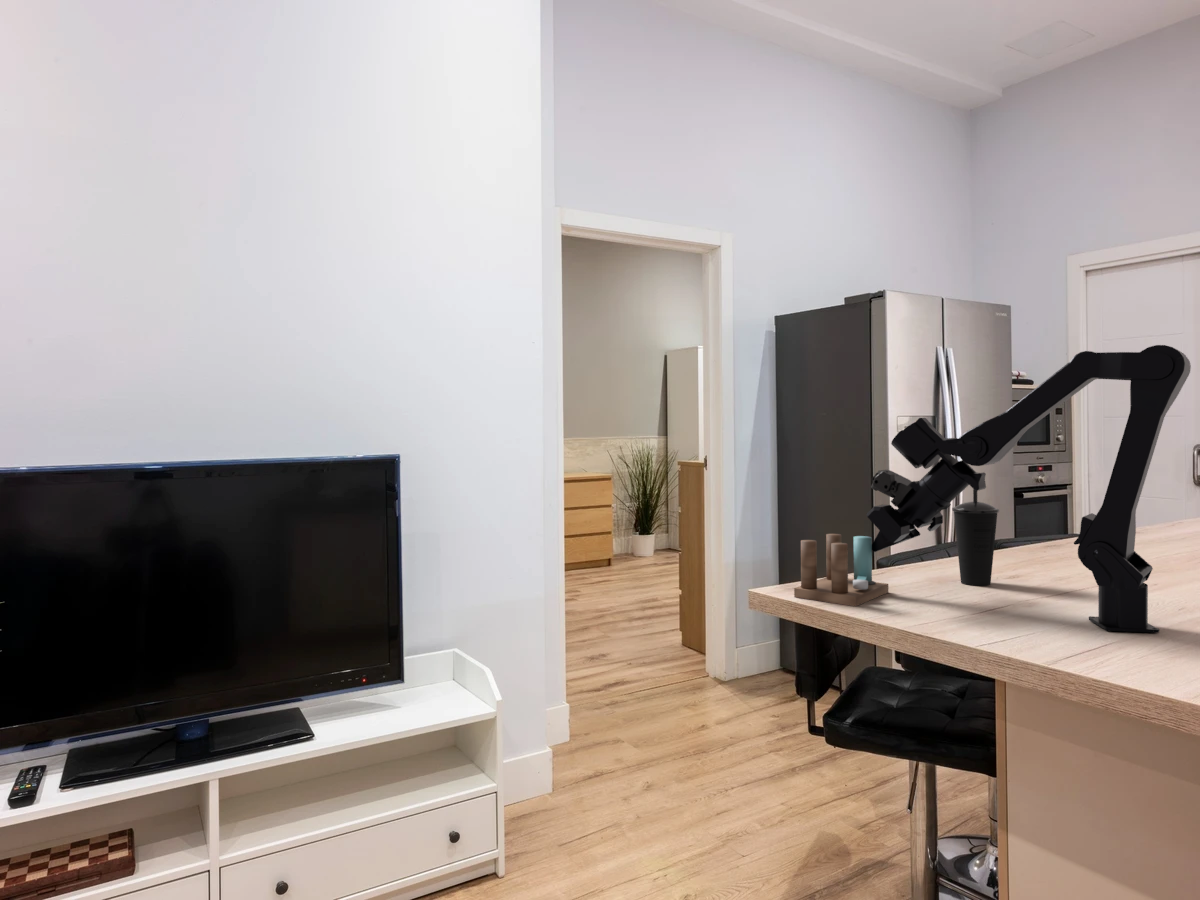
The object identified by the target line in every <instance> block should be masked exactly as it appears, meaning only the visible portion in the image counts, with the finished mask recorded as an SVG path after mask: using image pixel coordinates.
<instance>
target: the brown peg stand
mask: <svg viewBox="0 0 1200 900" xmlns="http://www.w3.org/2000/svg"><path fill="white" fill-rule="evenodd" d="M825 536H826V538H825V541H826V542H825V545H826V547H825V548H826V553H825V554H826V557H825V558H826V565H825V566H826V568H825V569H826V570H825V571H826V577H824V578H820V579H818V566H817V565H818V559H817V558H818V557H817V555H818V552H817V550H818V549H817V548H818V546H817V540H815V539H801V540H800V585H799V586H796V587H794V588H793V590H794V591H793V595H794V596H793V597H794V598H799V599H806V600H812V601H819V602H823V603H825V602H826V603H832V604H837V605H838V604H839V605H846V606H851V607H857V606H859V605H862V604H865V603H867V602H869V601H871V600H874V599H877V598H878V597H880V596H883V595H885V594H887V593H889V583H885V582H877V581H874V580H872V581H870V582H868V589H865V590H859V589H854V588H853V580H854V578H849V564H848V563H849V557H848V556H849V555H848V553H849V552H848V551H849V547H848V546H849V544H848V543H846V542H842V534H840V533H826V534H825Z"/></svg>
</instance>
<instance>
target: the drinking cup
mask: <svg viewBox="0 0 1200 900" xmlns="http://www.w3.org/2000/svg"><path fill="white" fill-rule="evenodd" d="M972 491H973V493H972V494H973V496H972V497H973V498H972V500H973V501H967V502H963V503H961V504H958V505H956V506H954V507H952V508H951V510H952V512H953V518H954V525H955V535H956V536H955V537H956V545H957V546H956V548H957V555H958V565H959V567H958V568H959V575H960V576H959V577H960V583H961V584H964V585H967V586H975V587H976V586H977V587H987V586H991V582H992V575H993V574H992V572H993V564H994V563H993V560H994V553H995V542H996V541H995V540H996V531H997V522H998V513H999V512H1000V508H996V507H995V506H993V505H991V504H990V503H986V502H981V501H978V491H975V490H974V489H973V488H972Z"/></svg>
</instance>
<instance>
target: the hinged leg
mask: <svg viewBox="0 0 1200 900" xmlns="http://www.w3.org/2000/svg"><path fill="white" fill-rule="evenodd" d="M872 543H873V538H872V537H871V536H867V535H865V536H864V535H856V536H853V579H854V580H853V588H854V589H859V590H865V589H868V582H870V581H873V550H872Z"/></svg>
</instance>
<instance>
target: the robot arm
mask: <svg viewBox="0 0 1200 900" xmlns="http://www.w3.org/2000/svg"><path fill="white" fill-rule="evenodd" d="M1191 369H1192V367H1191V362H1190V359H1189V358H1188V356H1187V355H1186V354H1185V353H1184V352H1182V351H1180V350H1178V349H1177V348H1175V347H1173V346H1170V345H1167V344H1166V345H1165V344H1156V345H1152V346H1151V345H1150V346H1148V347H1146V348H1145V349H1142V350H1141V351H1139V352H1137V351H1134V352H1133V351H1131V352H1129V351H1126V352H1125V351H1118V352H1112V351H1107V352H1096V351H1091V350H1089V351H1088V350H1085V351H1080V352H1079V353H1076V354H1075V355H1074V356H1073V357H1071V359H1070V360H1069V362H1067V363H1066V364H1064V366H1063V367H1061V368H1060V369H1058V370H1057V371H1056V372H1055V373H1053V374H1052V375H1051V376H1049V377H1048V378H1047V379H1045V380H1044V381H1043V382H1041V384H1039V385H1038V386H1037V387H1035V388H1034V389H1033V390H1031V391H1030V392H1029V393H1027V394H1026V395H1025V396H1024V397H1022V398H1020V400H1018V402H1016V403H1015V404H1013V405H1012V406H1011V407H1009V408H1008V409H1007V410H1005V411H1003V412H1002V413H1000V414H998V415H996V416H994V417H992V418H990V419H987V420H986V421H985V420H984V421H983V422H981V423H979V424H978V425H976V426H973V428H971V429H969V430H966V431H965V432H963V433H962V434H961V435H960V436H959V438H957V437H948V438H945V436H944V435H943V434H941V432H939V431H938V430H937V429H936V428H935V426H933V424H932V423H931V422H930V420H928V418H926V417H919V418H918V419H917V420H916V421H914V422H913V423H911V424H909V425H908V426H906V427H905V428H904V429H901V430H900V431H898V433H897V434H896V435H895V436H894V437H893V439H892V441H891V443H890V444H891V446H892V447H894V449H895V450H896V451H898V453H899V454H900V455H901V456H903V458H904V459H906V461H908V463H910V464H911V466H912V467H914V469H919V468H921V467H922V468H923V469H924V470H927V469H929V468H931V467H932V468H931V469H930V470H929V471H928V472H927V473H926V474H924V475H923V477H921V478H920V479H919V480H916V481H915V480H913V481H912V480H910V479H909V478H906V477H905V476H903V475H900V474H898V473H897V472H894V471H893V470H890V469H882V470H878V471H877V472H875V474H874V476H872V477H870V481H871V482H872V484H871V485H870V489H872V490H874V491H876V492H879V493H882V494H883V495H886V496H888V497H890V498H892V499H891V500H890V502H891V504H879V505H875V506H873V507H872V508H871V509H870V510H869V511H868V512H867V513H866V517H867V518H868V520H870V522H871V523H873V525H874V526H875V527H876V528H877V529H878V533H877V534H876V536H875V538H874V540H873V541H872V552H873V553H876V552H879V551H882V550H884V549H886V548H890V547H893V546H896V545H897V544H901V543H903V542H906V541H908V540H911V539H914V538H917V537H919V536H920V535H921V533H920V531H919V530H918V529H920V528H922V527H923V528H924V527H927V526H928V527H927V530H928V532H932V531H936V530H937V529H938V528H939V527H940V526H941V525H943V523H944V519H943V517H944V515H943V514H942V513H940V512H941V511H943V510H944V511H945V510H947V509H948V508H949V507H950V506H952V504H951V502H952V501H953V500H955V499H956V498H957V497H958V496H959V495H960V494H961V493H962V492H963V491H964V490H965V489H967V488H968V487H969V486H970V488H972V490H973V489H974V490H975V491H977V492H978V491H981V490H985V489H986V488H987V486H986V473H985V471H984V472H977V471H976V470H975V469H974V468H972V467H971V466H974V467H982V466H987V465H988V466H989V465H993V464H996V463H999V462H1000V461H1001V460H1003V458H1004V457H1005V456H1007V454H1008V453H1009V452H1010V451H1011V450H1012V449H1013V448H1014V447H1015V446H1016V445H1017V443H1018V442H1019V440H1021V438H1022V436H1024V434H1025V433H1026V432H1027V431H1028V430H1029V429H1030V428H1032V427H1033V426H1034V425H1036V424H1037V423H1039V421H1041V420H1042V419H1044V418H1045V417H1046V416H1048V415H1049V414H1051V412H1053V411H1054V410H1056V409H1057V408H1058V407H1059V406H1061V405H1063V404H1064V403H1065V402H1066V401H1068V400H1069V399H1071V398H1072V397H1073V396H1074V395H1076V394H1077V393H1079V392H1080V391H1081V390H1083V389H1084V388H1085V387H1087V386H1088V385H1089V384H1091V383H1092V382H1094V381H1095V380H1115V381H1117V380H1118V381H1130V383H1129V385H1130V386H1129V388H1130V389H1129V393H1130V395H1129V397H1130V398H1129V399H1130V404H1129V405H1130V409H1129V414H1128V418H1127V421H1126V424H1125V427H1124V431H1123V434H1122V438H1121V441H1120V444H1119V448H1118V452H1117V453H1116V458H1115V460H1114V465H1113V468H1112V471H1111V474H1110V478H1109V482H1108V485H1107V487H1106V492H1105V495H1104V499H1103V501H1102V505H1101V507H1100V509H1098V511H1097V513H1096V514H1095V513H1089V514H1086V515H1084V516H1082V517H1081V521H1080V531H1079V534H1078V536H1077V538H1076V540H1075V541H1074V542H1073V544H1074V545H1078V547H1077V557H1078V559H1079V561H1080V563H1081V564H1082V565H1083V566H1084V567H1085V568H1086V569H1088V570H1089V571H1091V573H1092V575H1093V577H1094V580H1095V582H1096V585H1097V586H1098V590H1097V591H1098V594H1097V595H1098V609H1097V610H1098V616H1092V615H1091V616H1088V621H1090V622H1091V623H1093V624H1095V625H1097V626H1098V627H1100V628H1102V629H1103V630H1105V631H1108V632H1131V633H1132V632H1134V633H1155V634H1157V633H1159V632H1160V629H1159V628H1157V627H1156V626H1154V625H1153V624H1151V623H1148V619H1149V618H1148V617H1149V616H1148V615H1149V612H1148V611H1149V609H1148V606H1149V604H1148V603H1149V602H1148V601H1149V594H1148V593H1149V592H1148V590H1149V588H1148V587H1149V584H1147V583H1145V582H1146V581H1148V580H1149V578H1150V576H1151V574H1152V571H1153V566H1152V565H1151V564H1150V563H1148V562H1147V561H1146V559H1144V558H1143V557H1142V556H1140V554H1138V552H1137V551H1135V543H1136V533H1137V530H1136V529H1137V527H1136V525H1137V524H1136V523H1137V521H1136V518H1137V517H1136V513H1137V508H1138V504H1139V501H1140V497H1141V495H1142V491H1143V489H1144V485H1145V481H1146V479H1147V476H1148V471H1149V469H1150V466H1151V462H1152V460H1153V455H1154V452H1155V450H1156V446H1157V442H1158V439H1159V436H1160V434H1161V433H1160V432H1161V429H1162V426H1163V424H1164V420H1165V417H1166V415H1167V413H1168V412H1169V410H1170V408H1171V407H1172V405H1173V403H1174V402H1175V401H1176V399H1177V398H1178V396H1179V394H1180V392H1181V390H1182V388H1183V387H1184V385H1185V383H1186V381H1187V379H1188V377H1189V376H1190V373H1191ZM955 457H958V458H960V459H961V460H958V459H956V458H955ZM933 465H934V466H933ZM892 505H893V506H894V507H897V508H894V507H893V506H892Z"/></svg>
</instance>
